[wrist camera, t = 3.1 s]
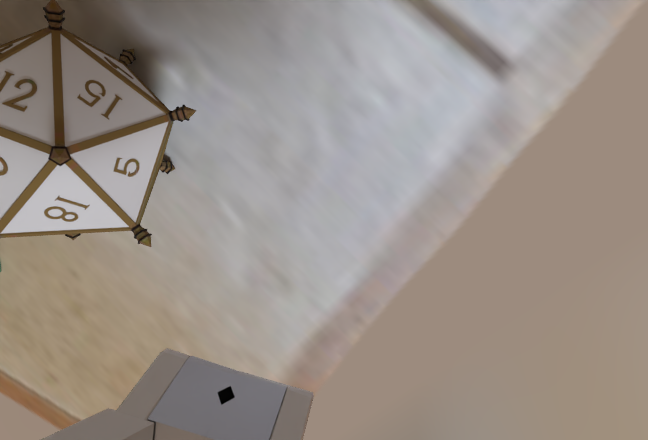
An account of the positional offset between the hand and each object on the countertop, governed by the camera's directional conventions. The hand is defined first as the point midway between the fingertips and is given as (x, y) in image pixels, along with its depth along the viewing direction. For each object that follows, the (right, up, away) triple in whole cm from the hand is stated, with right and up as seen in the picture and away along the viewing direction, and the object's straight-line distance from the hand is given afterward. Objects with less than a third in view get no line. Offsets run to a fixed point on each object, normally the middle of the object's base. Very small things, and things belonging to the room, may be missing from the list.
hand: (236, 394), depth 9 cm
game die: (-7, +8, +12) cm, 16 cm away
